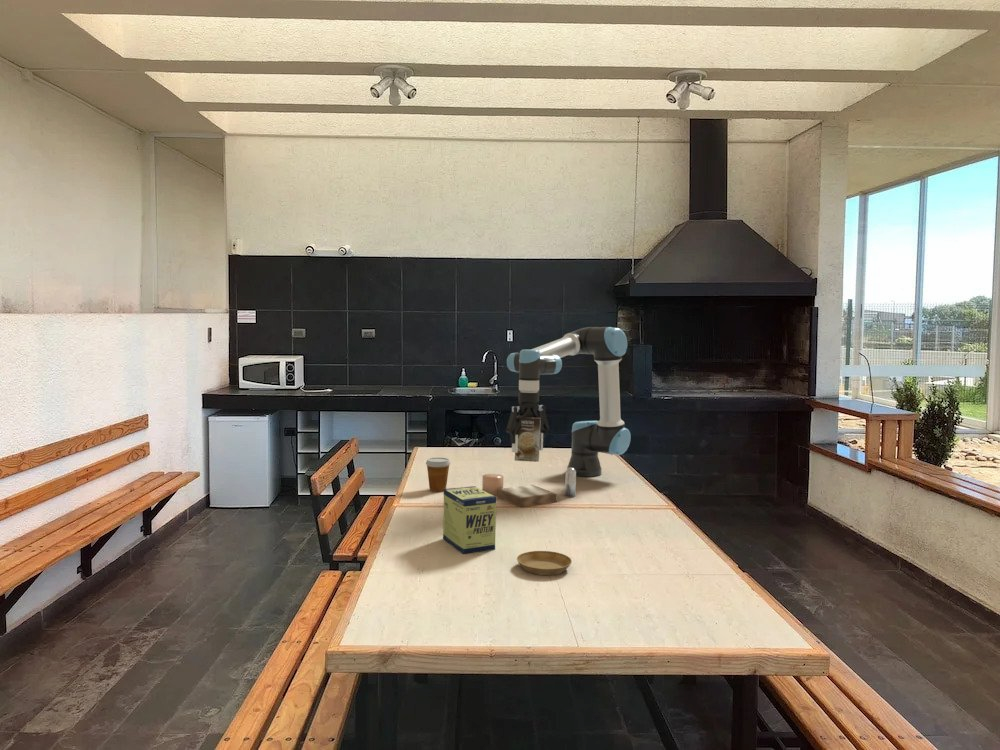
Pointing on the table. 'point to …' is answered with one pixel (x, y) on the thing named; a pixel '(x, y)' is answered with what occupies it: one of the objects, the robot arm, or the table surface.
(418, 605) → the table surface
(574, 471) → the salt shaker
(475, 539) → the protein box
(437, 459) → the disposable coffee cup
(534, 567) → the plant saucer
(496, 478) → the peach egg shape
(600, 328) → the robot arm
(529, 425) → the coffee box
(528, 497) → the picture frame
